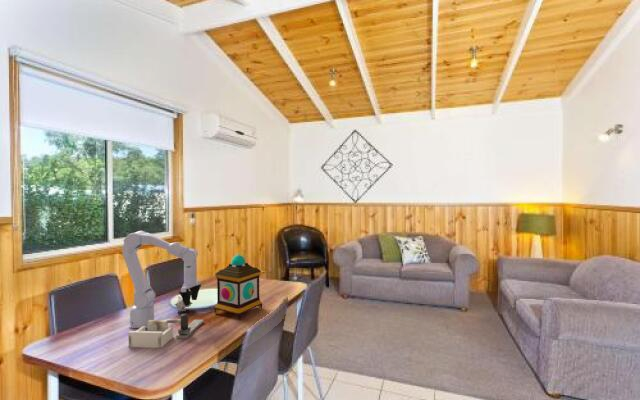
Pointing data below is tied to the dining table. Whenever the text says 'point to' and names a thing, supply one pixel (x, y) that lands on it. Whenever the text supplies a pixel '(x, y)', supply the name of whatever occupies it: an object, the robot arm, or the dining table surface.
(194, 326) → the rail
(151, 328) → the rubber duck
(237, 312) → the decorative lantern
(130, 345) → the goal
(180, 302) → the game die
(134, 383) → the dining table surface
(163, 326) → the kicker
